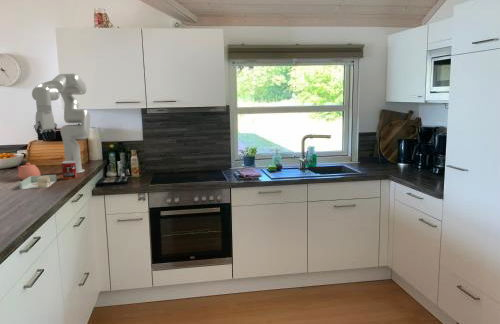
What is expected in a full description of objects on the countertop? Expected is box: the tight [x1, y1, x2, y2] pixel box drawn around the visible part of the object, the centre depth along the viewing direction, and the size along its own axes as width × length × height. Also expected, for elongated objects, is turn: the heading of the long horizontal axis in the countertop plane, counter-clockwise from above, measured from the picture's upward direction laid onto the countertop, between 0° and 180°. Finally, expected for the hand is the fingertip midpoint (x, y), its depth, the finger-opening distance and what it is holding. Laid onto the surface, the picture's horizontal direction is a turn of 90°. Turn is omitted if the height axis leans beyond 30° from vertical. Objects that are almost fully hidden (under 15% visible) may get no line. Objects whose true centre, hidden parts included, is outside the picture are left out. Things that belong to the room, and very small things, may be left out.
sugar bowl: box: [17, 162, 42, 181], centre depth 255 cm, size 12×14×10 cm
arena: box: [18, 174, 57, 190], centre depth 235 cm, size 18×14×4 cm
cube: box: [37, 176, 51, 188], centre depth 230 cm, size 5×5×5 cm
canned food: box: [61, 160, 78, 180], centre depth 251 cm, size 8×8×11 cm
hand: (47, 139), depth 233 cm, fingers open, 9 cm apart
